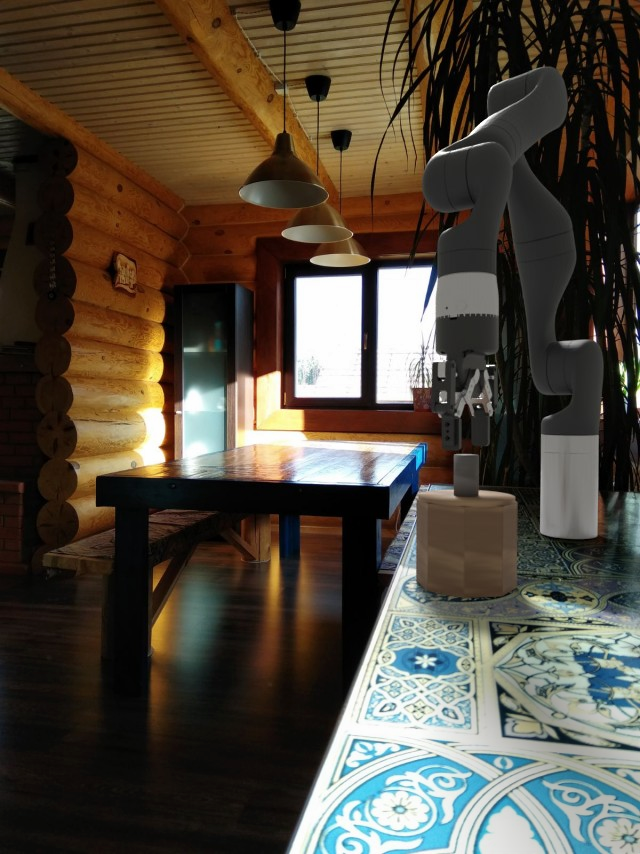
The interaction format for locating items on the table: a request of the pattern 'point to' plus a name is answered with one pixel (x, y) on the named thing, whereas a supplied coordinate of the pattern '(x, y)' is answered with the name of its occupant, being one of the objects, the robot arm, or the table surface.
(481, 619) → the table surface
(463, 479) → the tan jar with knob
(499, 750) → the table surface
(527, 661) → the table surface
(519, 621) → the table surface
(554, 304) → the robot arm
